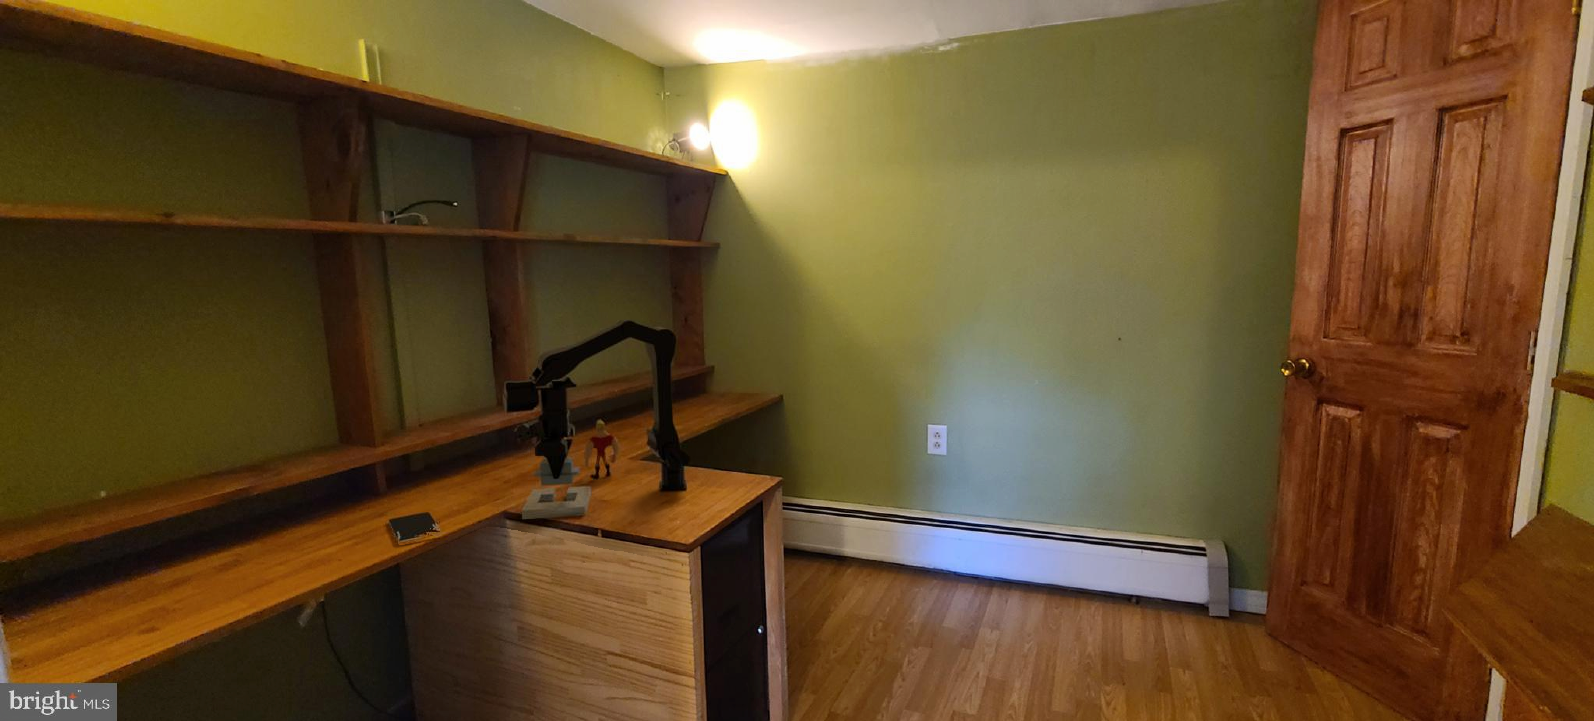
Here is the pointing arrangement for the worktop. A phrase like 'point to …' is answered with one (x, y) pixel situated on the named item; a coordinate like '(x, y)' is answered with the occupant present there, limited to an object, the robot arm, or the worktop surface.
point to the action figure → (601, 448)
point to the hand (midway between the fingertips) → (557, 475)
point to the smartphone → (413, 526)
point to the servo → (565, 475)
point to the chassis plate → (556, 503)
